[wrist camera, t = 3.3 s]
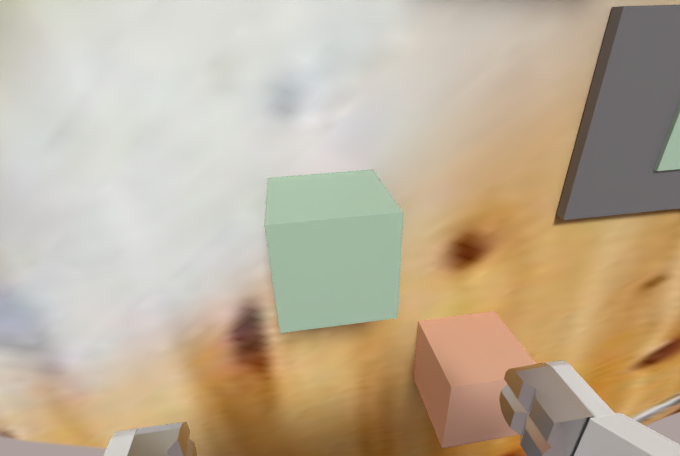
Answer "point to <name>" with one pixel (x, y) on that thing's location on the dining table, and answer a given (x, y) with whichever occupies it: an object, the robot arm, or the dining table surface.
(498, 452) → the dining table surface
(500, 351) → the terracotta block
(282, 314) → the green block
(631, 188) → the card
